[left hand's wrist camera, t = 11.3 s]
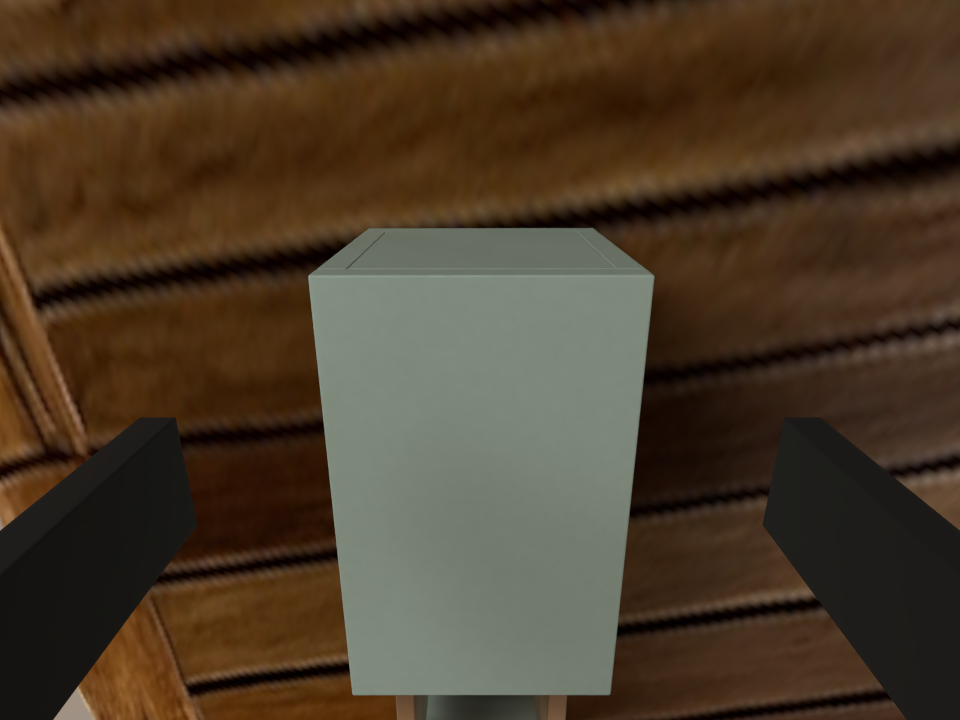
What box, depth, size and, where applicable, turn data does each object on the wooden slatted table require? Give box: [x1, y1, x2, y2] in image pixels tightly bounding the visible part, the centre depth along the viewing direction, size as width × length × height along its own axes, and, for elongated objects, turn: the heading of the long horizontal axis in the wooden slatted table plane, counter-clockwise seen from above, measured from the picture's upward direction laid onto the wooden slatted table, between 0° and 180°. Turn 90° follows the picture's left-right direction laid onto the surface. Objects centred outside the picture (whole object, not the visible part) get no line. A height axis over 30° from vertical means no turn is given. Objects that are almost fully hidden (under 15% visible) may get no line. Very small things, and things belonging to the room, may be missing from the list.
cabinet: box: [308, 228, 654, 695], centre depth 25 cm, size 17×10×10 cm, turn 0°
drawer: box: [396, 695, 567, 720], centre depth 30 cm, size 22×9×8 cm, turn 0°
